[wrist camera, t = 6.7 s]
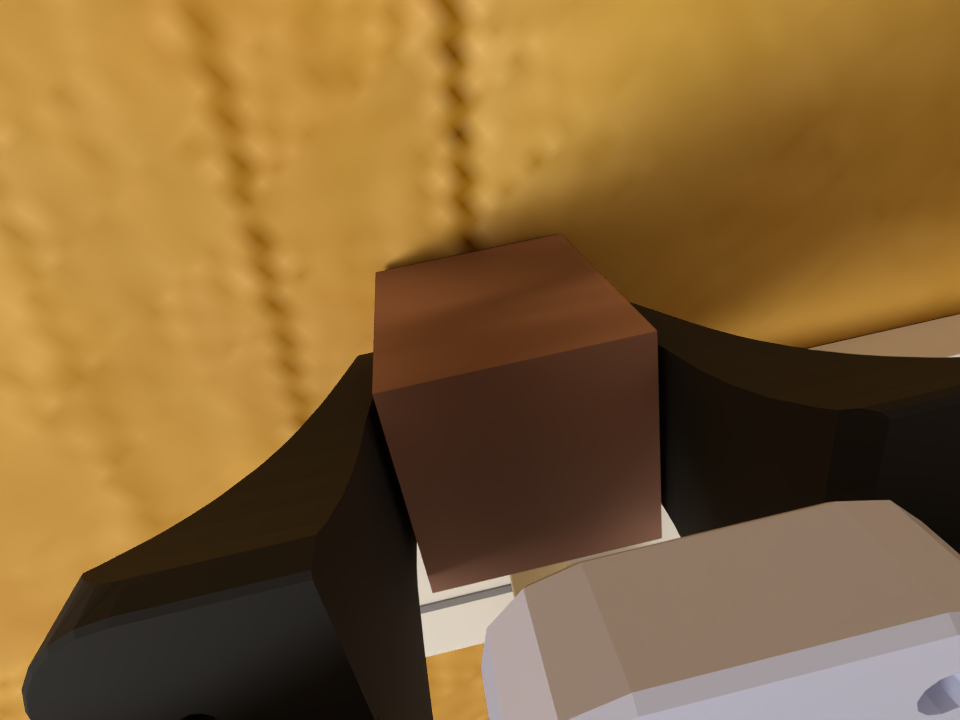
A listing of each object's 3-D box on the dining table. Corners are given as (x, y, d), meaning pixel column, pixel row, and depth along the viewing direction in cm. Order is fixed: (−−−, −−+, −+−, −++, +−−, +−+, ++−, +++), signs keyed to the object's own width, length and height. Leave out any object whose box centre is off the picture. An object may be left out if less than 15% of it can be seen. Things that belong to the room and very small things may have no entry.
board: (1110, 280, 15) (1186, 303, 14) (1043, 457, 18) (1100, 492, 17) (282, 467, 14) (271, 515, 13) (349, 626, 17) (346, 678, 16)
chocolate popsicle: (560, 233, 12) (657, 331, 8) (593, 561, 17) (666, 733, 13) (375, 272, 12) (372, 394, 8) (461, 592, 17) (489, 779, 13)
